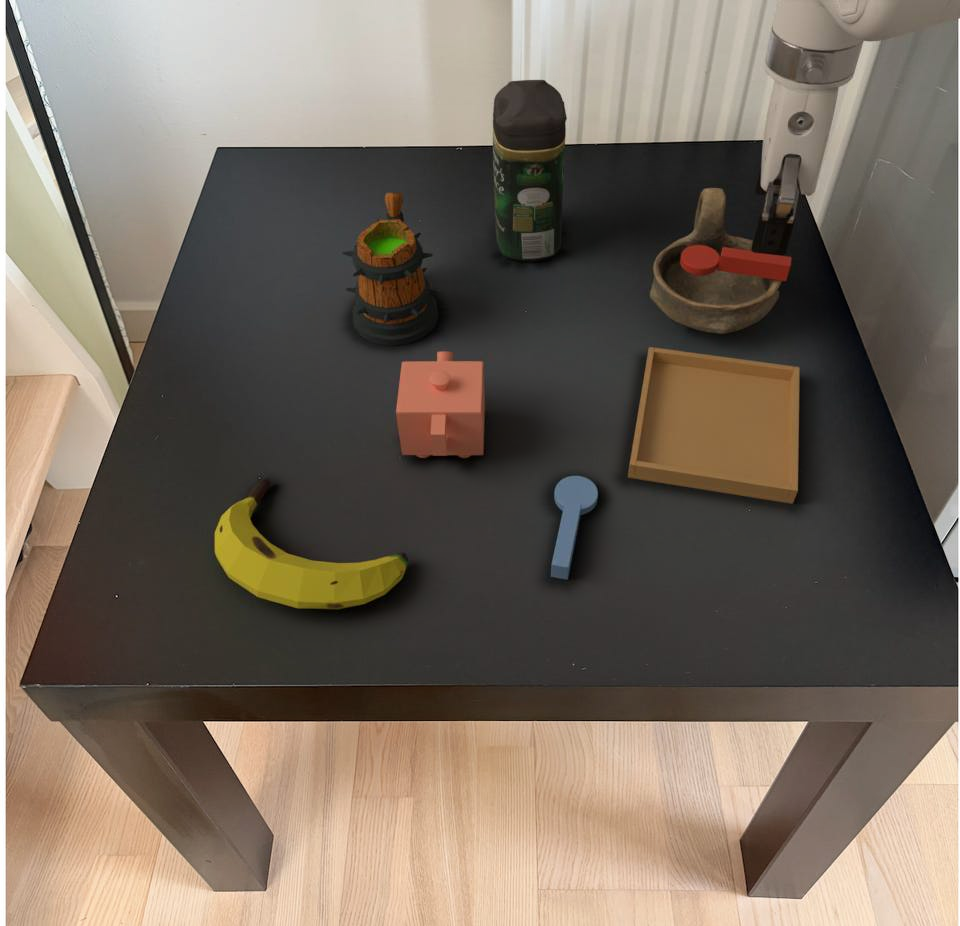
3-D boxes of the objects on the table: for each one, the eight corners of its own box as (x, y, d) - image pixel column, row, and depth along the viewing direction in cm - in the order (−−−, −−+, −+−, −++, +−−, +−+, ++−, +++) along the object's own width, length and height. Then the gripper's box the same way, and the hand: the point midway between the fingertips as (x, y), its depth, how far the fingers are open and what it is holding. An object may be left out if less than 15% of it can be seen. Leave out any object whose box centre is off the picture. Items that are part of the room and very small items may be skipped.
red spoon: (788, 265, 95) (792, 249, 93) (785, 289, 93) (789, 273, 91) (682, 249, 97) (685, 233, 96) (677, 272, 95) (680, 256, 93)
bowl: (649, 353, 97) (661, 278, 89) (642, 250, 108) (652, 177, 100) (781, 356, 96) (804, 282, 88) (760, 253, 107) (779, 178, 99)
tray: (794, 380, 93) (799, 367, 92) (792, 504, 83) (798, 490, 82) (646, 360, 96) (649, 346, 94) (627, 477, 86) (629, 464, 84)
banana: (403, 591, 74) (415, 468, 85) (189, 583, 73) (230, 461, 85) (403, 626, 77) (415, 503, 88) (198, 619, 76) (236, 496, 88)
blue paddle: (581, 582, 79) (583, 570, 77) (536, 574, 79) (537, 561, 78) (600, 485, 85) (601, 471, 84) (558, 478, 86) (559, 464, 85)
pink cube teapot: (485, 388, 94) (483, 328, 88) (482, 478, 86) (480, 420, 80) (410, 388, 94) (403, 328, 88) (401, 478, 87) (392, 420, 80)
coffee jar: (492, 217, 113) (489, 73, 98) (556, 214, 113) (562, 69, 98) (496, 267, 106) (494, 120, 92) (564, 263, 106) (571, 117, 92)
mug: (436, 348, 98) (429, 262, 89) (343, 346, 99) (326, 260, 90) (447, 272, 106) (441, 186, 97) (361, 270, 107) (347, 184, 98)
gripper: (862, 108, 71) (808, 282, 84) (855, 9, 81) (808, 177, 95) (763, 99, 72) (725, 272, 85) (770, 4, 83) (735, 170, 96)
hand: (769, 222), depth 90 cm, fingers open, 9 cm apart
